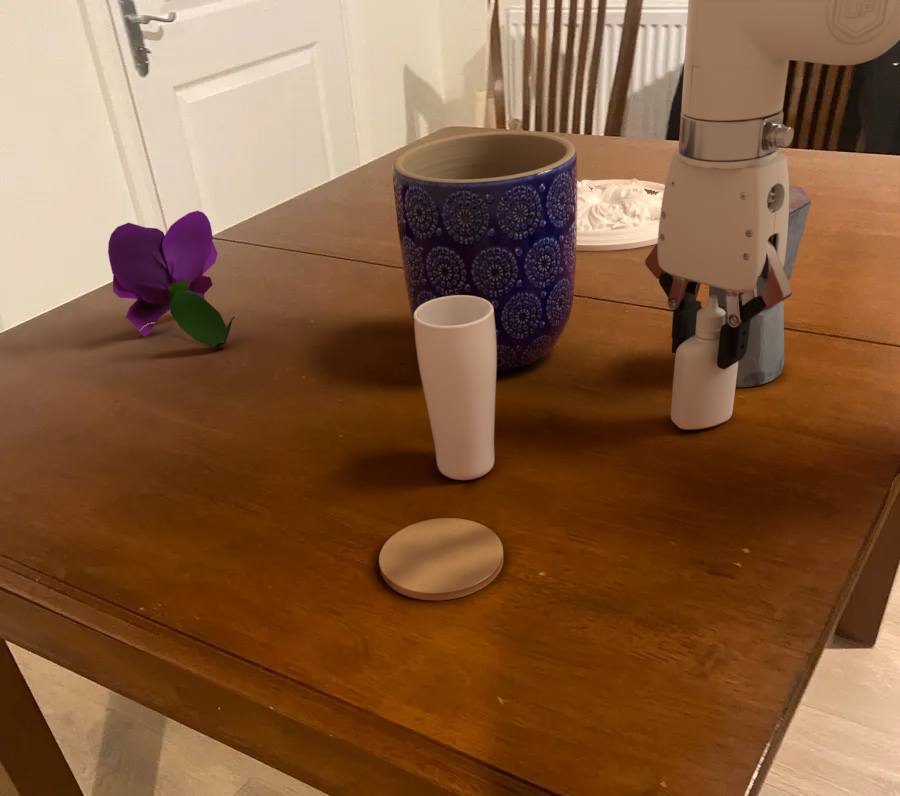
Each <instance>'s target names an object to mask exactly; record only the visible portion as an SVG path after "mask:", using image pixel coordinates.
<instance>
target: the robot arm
mask: <svg viewBox="0 0 900 796" xmlns="http://www.w3.org/2000/svg"><path fill="white" fill-rule="evenodd" d="M687 1H688V3H687V15H686V16H687V17H686V31H685V47H684V49H685V50H684V61H683V66H684V67H683V78H682V91H681V92H682V94H681V109H680V121H679V136H678V139H679V140H678V149H677V150H675V151H674V152H673V153H672V156H671V160H670V163H669V166H668V171H667V175H666V179H665V184H664V185H665V188H664V193H663V200H662V206H661V214H660V221H659V231H658V242H657V244H654V247H653V248H652V250H651V251H650V253H649V254H648V255H647V257H646V258H645V261H644V263H645V266H646V268H647V269H648V270H649V272H650V273H652V275H653V276H654V278H656V279H657V280H658V283H659V285H660V287H661V288H662V289H661V290H663V292H664V293H665V295H666V297H667V302H666V303H667V306H668V308H669V309H670V310H672V311H673V312H672V325H671V338H672V341H671V353H672V354H675V355H676V350H677V348H678V347H679V346H680V345H681V344H682V343H683V342H684V341H686V340H687V339H689V338H690V337H692V336H694V335H696V334H695V331H696V320H697V312H698V311H699V310H700V309H702V308H703V305H702V301H700V300H697V299H698V295H699V291H700V287H701V284H702V285H705V286H708V287H709V286H712V287H716V288H720V289H724V290H725V294H726V307H727V321H728V322H727V323H726V324H724V325H722V327H721V329H720V339H719V348H718V358H717V366H718V368H721V369H726V368H728V367H730V366H731V365H733V364H735V363H736V362H738V361H740V360H741V359H742V358H743V356H744V355H745V353H746V351H747V345H748V337H749V329H750V321H751V319H752V318H753V317H755V316H757V314H759V313H760V312H762V311H763V310H764V309H766V308H768V307H770V306H772V305H774V304H777V303H779V302H781V301H783V302H784V301H785V300H787V299H788V298H790V297H791V296H792V294H793V289H792V286H791V283H790V280H789V281H788V279H787V276H786V274H785V272H784V269H783V267H784V262H785V255H786V245H787V234H788V218H789V185H790V178H789V168H788V167H789V166H788V158H787V155H786V154H784V153H780V152H778V150H779V149H780V147H784V148H787V147H790V146H791V144H792V142H793V140H794V135H795V131H794V127H792V126H786V125H785V124H783V123H784V115H785V113H784V112H783V109H784V108H783V107H784V101H785V93H786V86H787V79H788V72H789V65H790V63H789V62H790V61H797V62H805V63H814V64H820V65H821V64H822V65H828V66H829V65H830V66H854V65H859V64H864V63H866V62H870V61H873V60H875V59H877V58H878V57H880V56H882V55H884V54H885V53H887V51H889V50H890V49H892V47H894V46H896V44H897V43H898V42H900V0H687ZM758 278H761V279H763V280H764V282H765V285H766V291H765V292H764V293H762V294H760V295H758V296H757V280H758Z"/></svg>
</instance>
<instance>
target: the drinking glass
mask: <svg viewBox="0 0 900 796" xmlns="http://www.w3.org/2000/svg"><path fill="white" fill-rule="evenodd" d="M413 327H414V329H413V330H414V340H415V341H414V342H415V350H416V358H417V364H418V370H419V375H420V380H421V385H422V389H423V394H424V399H425V404H426V410H427V415H428V419H429V424H430V429H431V434H432V439H433V444H434V451H435V460H436V466H437V469H438V471H439V472H440V474H442V475H443V476H444V477H446V478H449V479H452V480H456V481H471V480H475V479H478V478H482V477H483V476H486V475H487V474H488V473H490V471H492V469H493V468H494V465H495V460H496V456H495V422H496V420H495V419H496V393H497V373H498V372H497V340H496V327H495V317H494V308H493V305H492V304H491V303H490V302H489V301H487V300H485V299H483V298H480V297H476V296H468V295H454V296H446V297H440V298H436V299H433V300H430V301H428V302H425V303H424V304H422V305H420V306H419V307H418V308H417V309H416V310H415V312H414V320H413Z"/></svg>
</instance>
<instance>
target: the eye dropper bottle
mask: <svg viewBox="0 0 900 796" xmlns="http://www.w3.org/2000/svg"><path fill="white" fill-rule="evenodd" d="M725 315H726V312H725V311H724V310H723V309H721V308H719V307H718V301H717V296H715V295H711V296H709V295H708V299H707V301H706V305H705V307H702V309H700V310H699V311H698V312H697V320H696V331H695V334H696V335H694V336H692V337H690V338H689V339H687V340H686V341H684V342H683V343H682V344H681V345H680V346H679V347H678V348H677V350H676V354H675V358H674V369H673V378H672V379H673V380H672V394H671V406H670V421H672V423H674V424H675V426H677V427H678V428H679V429H681V430H689V431H691V430H701V429H709V428H711V427H715V426H718V425H720V424H723V423H725V422H728V421H729V420H730V419H731V417H732V415H733V410H734V403H735V396H736V395H735V393H736V387H735V386H736V378H737V369H738V362H736V363H735V364H733V365H731V366H730V367H728V368H726V369H721V368H718V366H717V358H718V348H719V339H720V329H721V327H722V325H724V324H725Z"/></svg>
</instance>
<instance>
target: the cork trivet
mask: <svg viewBox="0 0 900 796" xmlns="http://www.w3.org/2000/svg"><path fill="white" fill-rule="evenodd" d="M504 555H505V554H504V547H503V543H502V541H501V539H500V538H499V536H498V535H497V534H496V532H494V531H493V530H492V529H490V528H489V527H487V526H485V525H483V524H481V523H479V522H477V521H473V520H469V519H463V518H456V517H441V518H432V519H427V520H422V521H419V522H415V523H413V524H410V525H407V526H405V527H404V528H402V529H400V530H398V531H397V532H395V533H393V535H391V536H390V537H389V538H388V539H387V541H386V542H385V543H384V544H383V546H382V548H381V550H380V552H379V556H378V566H379V571H380V574H381V577H382V580H384V582H385V583H386V584H387V585H388V586H389V587H390V588H391V589H392V590H393V591H395V592H396V593H398V594H401V595H403V596H406V597H407V598H408V597H409V598H412V599H416V600H421V601H432V602H433V601H435V602H436V601H437V602H438V601H448V600H449V601H450V600H454V599H459V598H464V597H466V596H469V595H472V594H474V593H477V592H478V591H480V590H483V589H484V588H486V587H487V586H488V585H489V584H491V583H492V582H494V580H495V579H496V578H497V576H499V574H500V572H501V570H502V568H503V565H504V561H505V560H504V557H505V556H504Z"/></svg>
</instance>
